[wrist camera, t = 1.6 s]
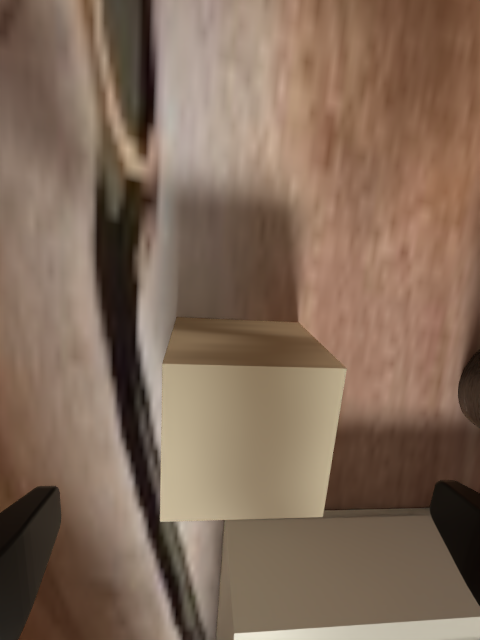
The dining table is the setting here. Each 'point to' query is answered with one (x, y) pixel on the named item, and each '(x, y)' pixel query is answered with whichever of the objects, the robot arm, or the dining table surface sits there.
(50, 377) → the dining table surface
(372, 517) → the tote
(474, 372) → the metal cylinder
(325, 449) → the wood cube
